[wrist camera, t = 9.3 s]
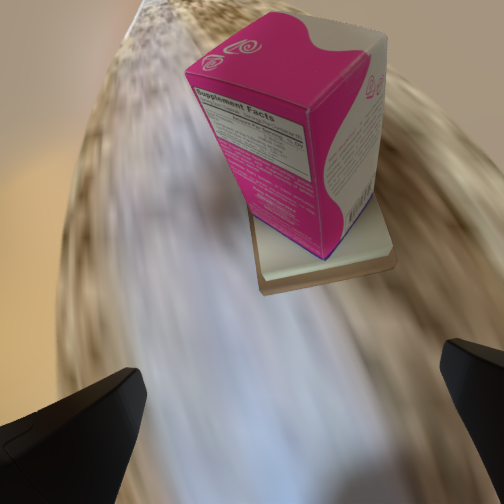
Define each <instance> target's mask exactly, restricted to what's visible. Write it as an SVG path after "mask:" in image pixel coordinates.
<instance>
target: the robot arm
mask: <svg viewBox="0 0 504 504" xmlns="http://www.w3.org/2000/svg"><path fill="white" fill-rule="evenodd" d="M440 371H441V374H442V376H443V378H444V381H445V383H446V386H447V388H448V390H449V393H450V395H451V398H452V400H453V403H454V405H455V407H456V409H457V411H458V413H459V415H460V417H461V419H462V421H463V423H464V425H465V427H466V429H467V431H468V432H469V434H470V436H471V438H472V440H473V442H474V444H475V447H476V449H477V451H478V453H479V455H480V457H481V459H482V461H483V463H484V466H485V468H486V470H487V472H488V474H489V477H490V479H491V481H492V484H493V486H494V488H495V491H496V493H497V495H498V498H499V500H500V503H501V504H504V351H501V350H497V349H494V348H490V347H487V346H483V345H480V344H476V343H473V342H469V341H466V340H462V339H459V338H454V339H449V340H446V341H445V343H444V345H443V350H442V355H441V360H440ZM146 399H147V390H146V387H145V384H144V381H143V377H142V374H141V372H140V370H139V369H138V368H129V367H126V368H124V369H122V370H120V371H118V372H116V373H114V374H112V375H110V376H108V377H106V378H104V379H102V380H100V381H98V382H96V383H94V384H92V385H90V386H88V387H86V388H84V389H82V390H80V391H78V392H76V393H74V394H72V395H70V396H68V397H65V398H63V399H61V400H59V401H57V402H55V403H53V404H51V405H49V406H47V407H45V408H42V409H41V410H38V411H37V412H34V413H32V414H29V415H27V416H25V417H23V418H20V419H18V420H16V421H14V422H11V423H8V424H5V425H3V426H0V504H115V501H116V498H117V495H118V492H119V489H120V486H121V483H122V480H123V477H124V474H125V471H126V468H127V466H128V463H129V460H130V457H131V454H132V452H133V449H134V446H135V443H136V440H137V437H138V433H139V429H140V425H141V420H142V416H143V412H144V407H145V403H146Z"/></svg>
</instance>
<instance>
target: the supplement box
mask: <svg viewBox="0 0 504 504" xmlns="http://www.w3.org/2000/svg"><path fill="white" fill-rule="evenodd" d="M387 40H388V37H387V35H386V34H385V33H382V32H379V31H376V30H372V29H368V28H364V27H360V26H356V25H352V24H347V23H342V22H337V21H333V20H327V19H323V18H318V17H313V16H307V15H302V14H296V13H289V12H283V11H271V12H269V13H268V14H266V15H264V16H263V17H261V18H259V19H258V20H256V21H255V22H253V23H251V24H250V25H248V26H247V27H245V28H244V29H242V30H241V31H239V32H238V33H236V34H234V35H233V36H231V37H230V38H229V39H227V40H226V41H224V42H223V43H221V44H220V45H219V46H217V47H216V48H214V49H213V50H212V51H210V52H209V53H207V54H206V55H205V56H204V57H202V58H201V59H199V60H198V61H197V62H195V63H194V64H193V65H192V66H190V67H189V68H188V69H186V70H185V72H184V73H185V76H186V78H187V80H188V82H189V84H190V86H191V88H192V90H193V92H194V94H195V96H196V98H197V100H198V102H199V104H200V106H201V108H202V110H203V112H204V114H205V116H206V118H207V121H208V123H209V125H210V127H211V129H212V131H213V133H214V135H215V137H216V139H217V141H218V143H219V145H220V147H221V149H222V151H223V153H224V155H225V157H226V160H227V162H228V164H229V166H230V168H231V170H232V172H233V174H234V176H235V178H236V180H237V183H238V185H239V187H240V189H241V191H242V193H243V195H244V197H245V200H246V202H247V204H248V206H249V208H250V210H251V212H252V215H253V216H255V217H256V218H258V219H259V220H261V221H262V222H264V223H265V224H267V225H269V226H270V227H272V228H273V229H275V230H276V231H278V232H279V233H281V234H282V235H284V236H285V237H287V238H288V239H290V240H291V241H293V242H294V243H296V244H298V245H299V246H301V247H302V248H304V249H305V250H307V251H308V252H310V253H311V254H313V255H314V256H316V257H318V258H319V259H321V260H323V261H326V260H327V259H328V258H329V257H330V256H331V255H332V253H333V252H334V251H335V249H336V248H337V247H338V245H339V244H340V243H341V241H342V240H343V238H344V237H345V236H346V235H347V233H348V232H349V230H350V229H351V227H352V226H353V225H354V223H355V222H356V220H357V219H358V217H359V216H360V214H361V213H362V212H363V210H364V209H365V207H366V206H367V204H368V203H369V201H370V199H371V198H372V197H373V190H374V183H375V176H376V169H377V162H378V154H379V147H380V139H381V130H382V120H383V111H384V99H385V84H386V68H387Z"/></svg>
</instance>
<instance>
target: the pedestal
mask: <svg viewBox="0 0 504 504" xmlns="http://www.w3.org/2000/svg"><path fill="white" fill-rule="evenodd" d="M247 208H248V215H249V222H250V229H251V236H252V243H253V250H254V257H255V264H256V271H257V278H258V285H259V290H260V292H261V293H262V295H263V296H267V295H272V294H277V293H282V292H288V291H293V290H298V289H303V288H308V287H313V286H318V285H322V284H327V283H332V282H337V281H341V280H346V279H350V278H355V277H360V276H364V275H368V274H373V273H377V272H382V271H386V270H390V269H393V268H394V266H395V265H396V263H397V261H398V260H397V257H396V253H395V250H394V247H393V244H392V241H391V238H390V235H389V232H388V229H387V226H386V223H385V220H384V217H383V214H382V212H381V209H380V206H379V203H378V201H377V198H376V195H375V193H374V190H373V197H372V198H371V199H370V201H369V203H368V204H367V206H366V207H365V209H364V210H363V212H362V213H361V214H360V216H359V217H358V219H357V220H356V222H355V223H354V225H353V226H352V227H351V229H350V230H349V232H348V233H347V235H346V236H345V237H344V238H343V240H342V241H341V243H340V244H339V245H338V247H337V248H336V249H335V251H334V252H333V253H332V255H331V256H330V257H329V258H328V259H327V260H326V261H323V260H321V259H319V258H318V257H316V256H314V255H313V254H311V253H310V252H308V251H307V250H305V249H304V248H302V247H301V246H299V245H298V244H296V243H294V242H293V241H291V240H290V239H288V238H287V237H285V236H284V235H282V234H281V233H279V232H278V231H276V230H275V229H273V228H272V227H270V226H269V225H267V224H265V223H264V222H262V221H261V220H259V219H258V218H256V217H255V216H253V215H252V212H251V210H250V208H249V206H248V204H247Z"/></svg>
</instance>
